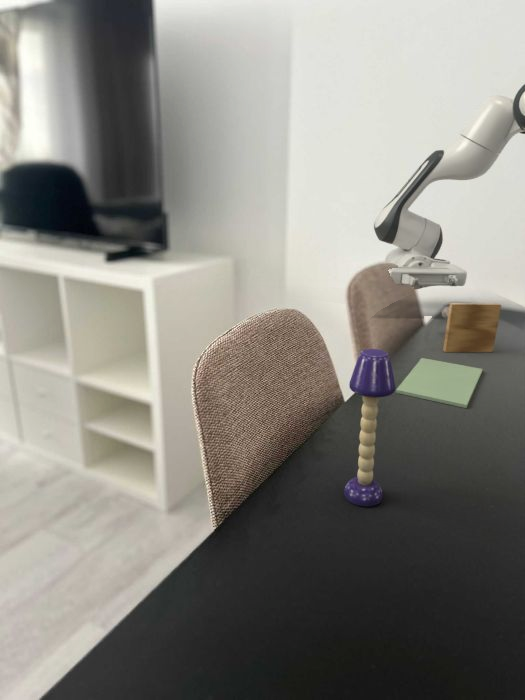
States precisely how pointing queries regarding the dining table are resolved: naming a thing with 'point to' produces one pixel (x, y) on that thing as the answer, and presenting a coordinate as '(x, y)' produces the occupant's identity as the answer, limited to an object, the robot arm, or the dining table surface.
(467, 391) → the mat
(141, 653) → the dining table surface
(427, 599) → the dining table surface
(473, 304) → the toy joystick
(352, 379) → the toy lamp
